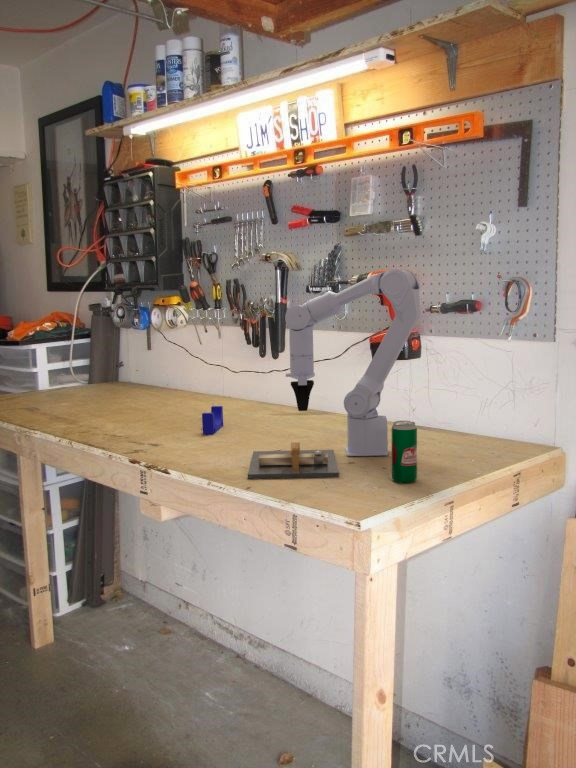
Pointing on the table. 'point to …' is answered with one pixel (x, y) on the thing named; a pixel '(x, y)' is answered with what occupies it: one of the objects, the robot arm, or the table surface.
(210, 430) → the blue u-shaped block
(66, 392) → the table surface
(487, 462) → the table surface
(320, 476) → the base plate
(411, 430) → the soda can
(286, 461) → the link
